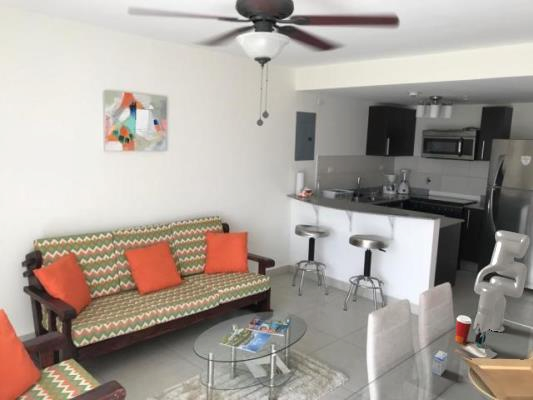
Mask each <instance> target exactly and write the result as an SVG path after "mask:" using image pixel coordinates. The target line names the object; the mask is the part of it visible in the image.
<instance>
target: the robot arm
mask: <svg viewBox="0 0 533 400" xmlns="http://www.w3.org/2000/svg"><path fill="white" fill-rule="evenodd" d="M494 235H495V236H494V238H495V245H494V248H493V252H492V255H491V260H490V263H489V264H488V265H486V266H485V267H483V268H482V269H481V270H480V271H479V272H478V273H477V275H476V279H475V282H474V286H473V290H474V292H475V294H476V295H479V301H478V306H477V313H476V315H475V319H474V323H473V326H472V328H473V330H474V334H475V341H474V342H475V343H479V344H482V338H483V337H482V334H483V332H485V334H484V339H483V343H485V342H486V337H487V333H488V332H489V331H491V330H492V331H491V332H494V331H498V332H497V333H502V332H504V331H505V327H504V326H503V323H504V322H505V319H504V318H505V317H504V316H505V312H506V307H507V306H506V305H507V299H506V297H505V296H509V297H512V298H517V299H519V298H521V297H522V295H523V293H524V289H525V282H526V278H527V272H528V267H527V265H526V264H524V263H522V262H519V261H515V258H516V259H522V258H524V256H525V254H526V252H527V250H528V248H529V246H530V243H531V239H530V237H529V236H528V235H527V234H523V233H517V232H513V231H508V230H502V229H501V230H497V231H496V232H495V234H494ZM490 273H497V274H498V275H500V276H497V275H495V276H492V277H491V278H490V279H489V282H487V281H483V279H484V277H486V275H488V274H490ZM502 276H503V277H502ZM511 278H512V279H511ZM514 279H515V280H514ZM504 295H505V296H504ZM489 329H490V330H489ZM479 332H480V333H481V334H480V333H479Z"/></svg>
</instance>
